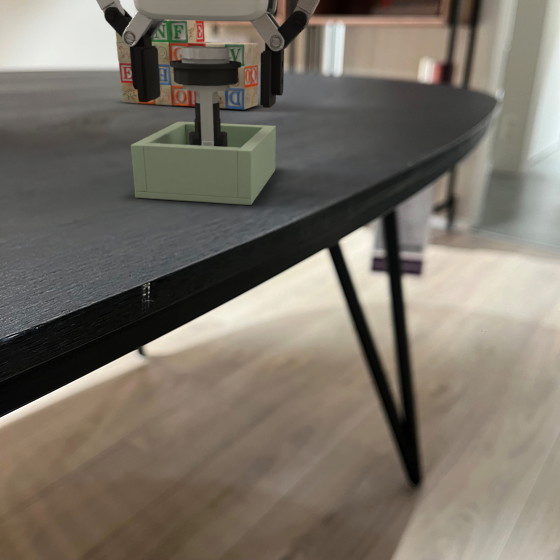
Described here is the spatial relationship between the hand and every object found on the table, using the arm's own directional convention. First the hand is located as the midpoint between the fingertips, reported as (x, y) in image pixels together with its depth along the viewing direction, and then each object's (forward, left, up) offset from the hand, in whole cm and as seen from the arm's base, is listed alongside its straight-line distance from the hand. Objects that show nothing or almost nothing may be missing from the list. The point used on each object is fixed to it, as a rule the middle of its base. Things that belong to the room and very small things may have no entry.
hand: (208, 102), depth 45 cm
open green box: (0, 0, -6) cm, 6 cm away
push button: (0, 0, -6) cm, 6 cm away
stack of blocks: (-16, +46, -7) cm, 49 cm away
